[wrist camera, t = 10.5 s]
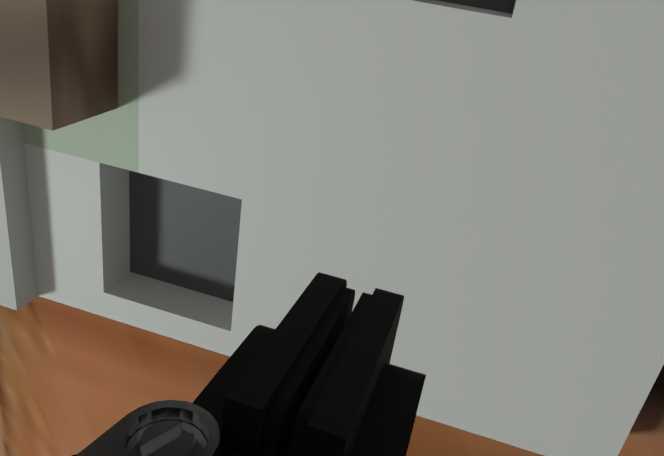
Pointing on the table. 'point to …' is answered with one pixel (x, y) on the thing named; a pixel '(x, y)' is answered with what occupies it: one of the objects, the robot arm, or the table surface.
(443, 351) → the trap board
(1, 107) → the walnut block
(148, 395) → the table surface
